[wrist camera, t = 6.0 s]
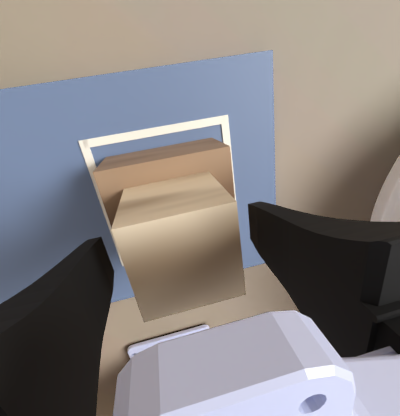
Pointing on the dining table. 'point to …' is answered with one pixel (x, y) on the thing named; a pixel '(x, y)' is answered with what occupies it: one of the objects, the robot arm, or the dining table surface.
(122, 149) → the board
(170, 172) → the walnut base
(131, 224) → the maple cube
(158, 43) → the dining table surface
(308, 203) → the dining table surface
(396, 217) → the plate stack
